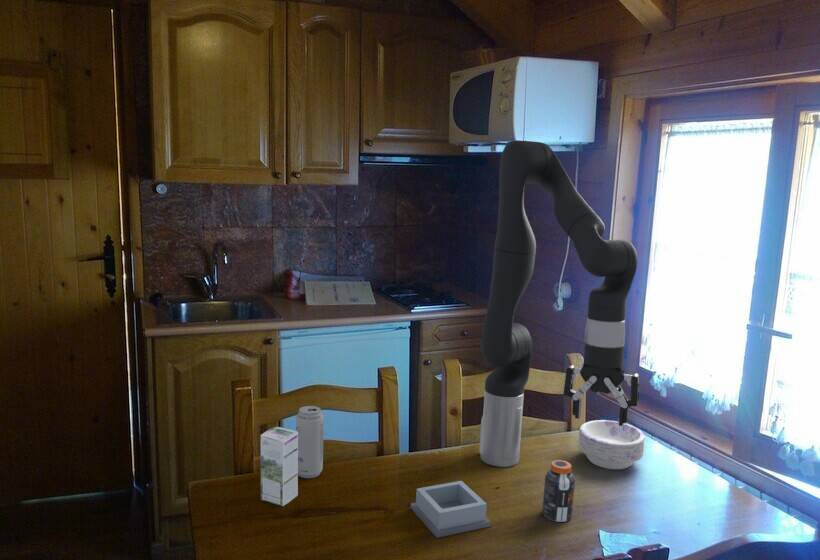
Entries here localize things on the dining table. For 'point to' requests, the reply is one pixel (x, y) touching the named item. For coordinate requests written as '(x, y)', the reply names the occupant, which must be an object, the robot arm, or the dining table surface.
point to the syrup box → (279, 465)
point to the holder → (450, 509)
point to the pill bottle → (558, 492)
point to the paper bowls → (611, 443)
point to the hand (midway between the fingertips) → (599, 421)
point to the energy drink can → (310, 441)
